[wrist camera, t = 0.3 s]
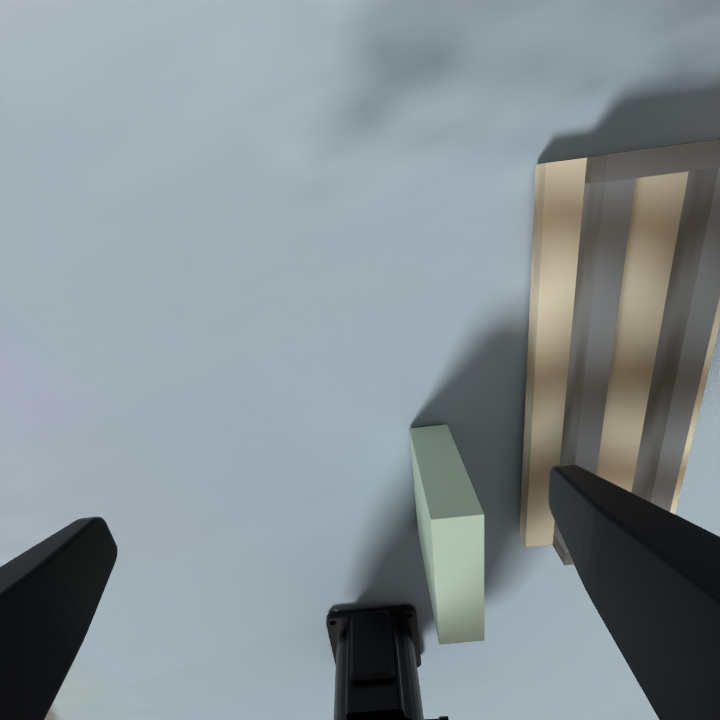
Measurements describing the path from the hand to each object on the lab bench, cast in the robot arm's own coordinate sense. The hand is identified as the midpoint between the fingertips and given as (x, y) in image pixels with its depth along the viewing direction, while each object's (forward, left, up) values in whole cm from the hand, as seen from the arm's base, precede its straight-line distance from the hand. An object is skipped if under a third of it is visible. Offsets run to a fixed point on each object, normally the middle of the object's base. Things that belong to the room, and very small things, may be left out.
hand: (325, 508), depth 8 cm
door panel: (-11, -4, -13) cm, 18 cm away
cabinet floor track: (-5, -14, -13) cm, 20 cm away
